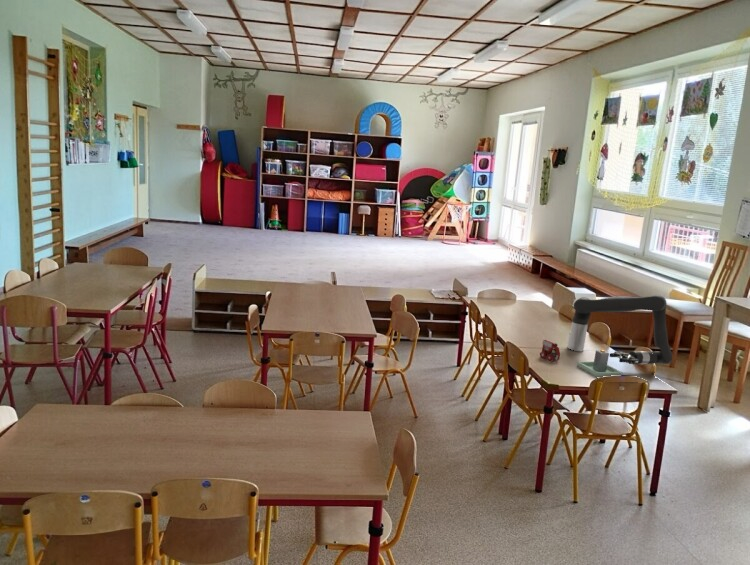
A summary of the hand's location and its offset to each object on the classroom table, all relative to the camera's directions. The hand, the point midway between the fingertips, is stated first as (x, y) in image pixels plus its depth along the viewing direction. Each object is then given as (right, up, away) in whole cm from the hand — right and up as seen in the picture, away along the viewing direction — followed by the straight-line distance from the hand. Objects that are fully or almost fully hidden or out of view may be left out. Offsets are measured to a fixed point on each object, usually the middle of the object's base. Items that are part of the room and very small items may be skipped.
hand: (614, 357), depth 340 cm
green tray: (-9, -8, -1) cm, 12 cm away
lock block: (-9, -7, -1) cm, 12 cm away
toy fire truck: (-33, -3, +15) cm, 36 cm away
